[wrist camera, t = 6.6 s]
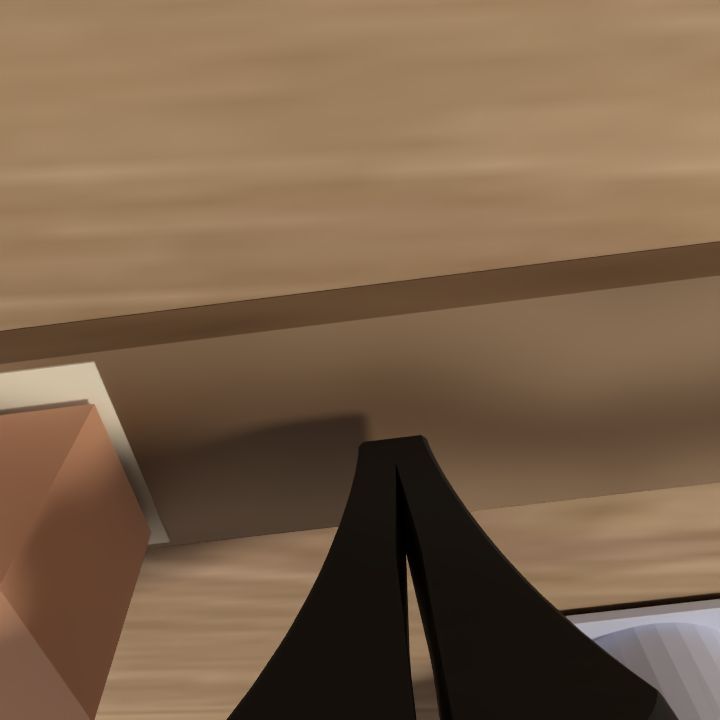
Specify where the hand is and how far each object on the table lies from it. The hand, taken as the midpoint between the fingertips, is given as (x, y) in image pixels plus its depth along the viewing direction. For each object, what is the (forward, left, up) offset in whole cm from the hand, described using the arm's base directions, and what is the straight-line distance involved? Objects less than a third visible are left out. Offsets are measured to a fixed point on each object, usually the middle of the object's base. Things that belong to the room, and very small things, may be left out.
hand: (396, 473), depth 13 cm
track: (0, +2, -3) cm, 4 cm away
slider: (0, +8, -1) cm, 8 cm away
